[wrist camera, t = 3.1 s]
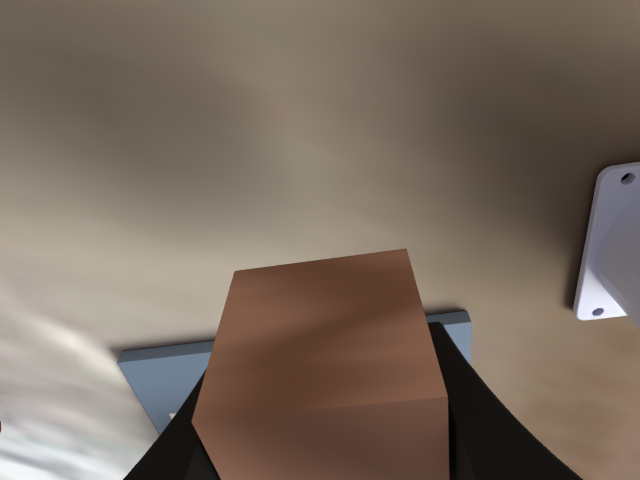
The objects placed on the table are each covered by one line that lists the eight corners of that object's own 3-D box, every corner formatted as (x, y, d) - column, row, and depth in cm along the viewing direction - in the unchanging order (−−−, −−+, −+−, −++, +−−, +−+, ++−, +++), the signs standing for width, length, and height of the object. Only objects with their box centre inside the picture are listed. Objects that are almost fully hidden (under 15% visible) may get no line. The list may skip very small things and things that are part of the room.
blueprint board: (466, 310, 22) (471, 323, 21) (464, 485, 30) (467, 498, 30) (122, 351, 24) (116, 364, 23) (211, 506, 32) (208, 519, 31)
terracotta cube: (406, 248, 12) (447, 396, 8) (415, 369, 15) (450, 527, 11) (234, 271, 13) (191, 421, 9) (272, 383, 16) (253, 541, 11)
